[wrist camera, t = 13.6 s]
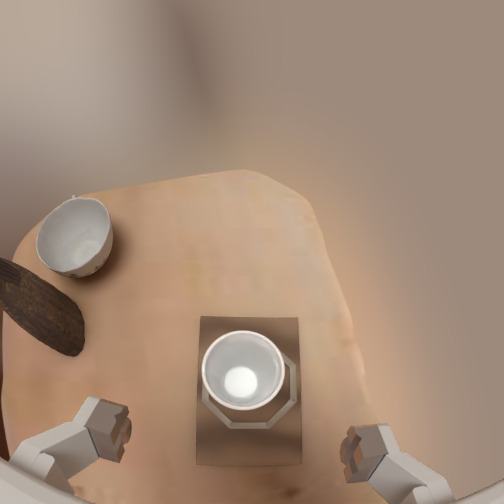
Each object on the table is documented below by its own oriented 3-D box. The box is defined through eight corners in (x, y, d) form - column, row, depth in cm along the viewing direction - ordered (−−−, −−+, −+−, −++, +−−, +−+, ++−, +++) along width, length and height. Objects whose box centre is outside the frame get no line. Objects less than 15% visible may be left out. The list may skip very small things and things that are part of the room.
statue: (38, 330, 37) (-68, 244, 16) (64, 293, 41) (-25, 187, 20) (74, 363, 36) (-44, 290, 15) (101, 323, 40) (7, 219, 18)
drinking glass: (262, 355, 38) (279, 324, 25) (270, 406, 35) (292, 404, 22) (209, 361, 37) (196, 332, 24) (215, 412, 34) (204, 415, 21)
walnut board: (299, 462, 32) (303, 464, 30) (197, 463, 31) (195, 465, 29) (295, 320, 42) (298, 315, 40) (201, 318, 41) (199, 314, 39)
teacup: (130, 281, 43) (113, 255, 36) (60, 302, 40) (34, 280, 33) (119, 205, 50) (105, 174, 43) (58, 225, 47) (39, 198, 40)
